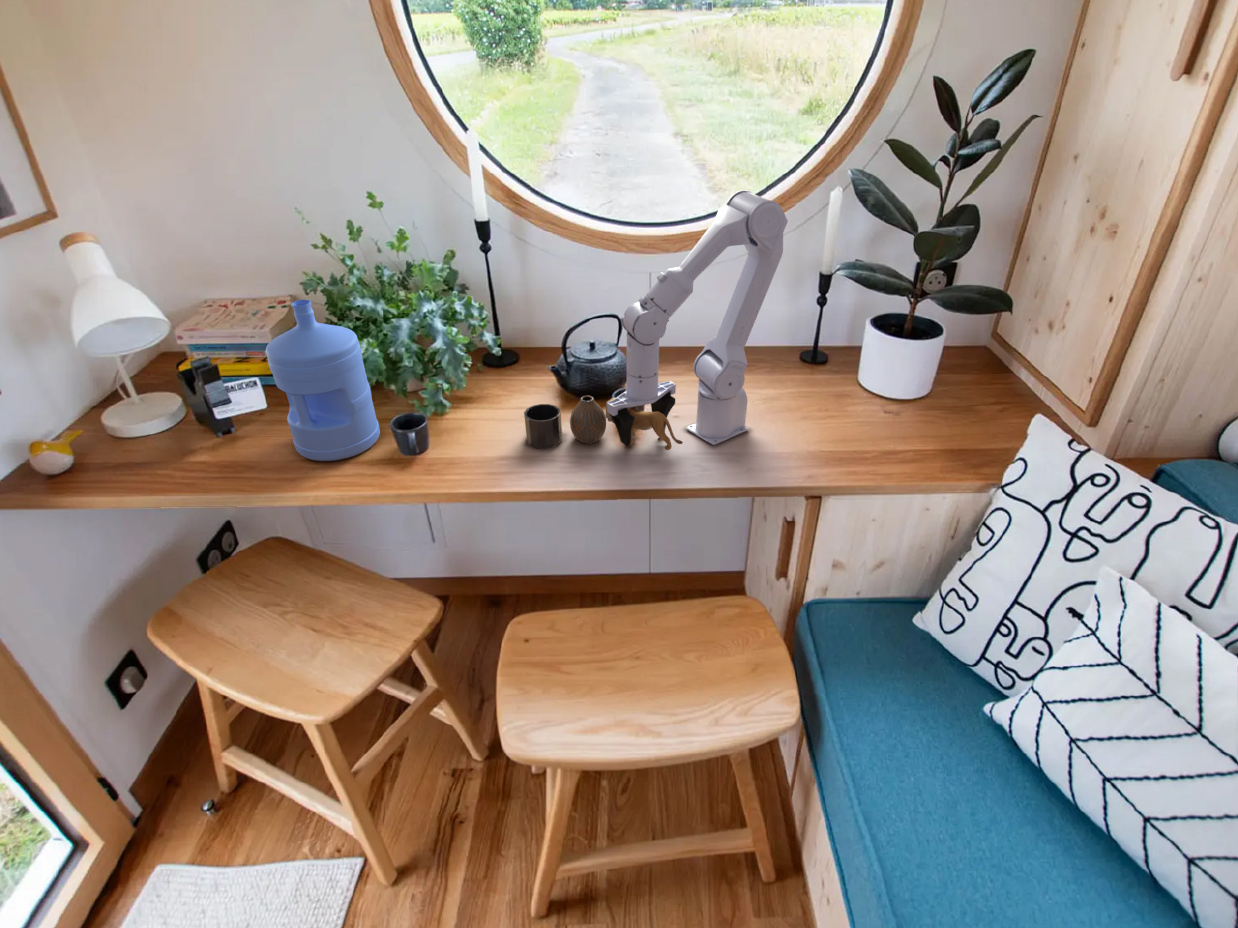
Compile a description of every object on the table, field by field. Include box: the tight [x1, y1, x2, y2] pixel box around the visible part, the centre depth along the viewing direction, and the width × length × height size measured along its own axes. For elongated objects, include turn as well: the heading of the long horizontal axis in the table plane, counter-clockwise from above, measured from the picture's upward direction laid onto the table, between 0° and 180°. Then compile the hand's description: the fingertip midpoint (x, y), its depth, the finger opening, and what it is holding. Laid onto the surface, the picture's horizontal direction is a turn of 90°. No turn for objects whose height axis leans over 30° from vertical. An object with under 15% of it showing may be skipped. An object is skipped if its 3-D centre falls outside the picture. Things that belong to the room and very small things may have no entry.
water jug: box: [265, 299, 381, 462], centre depth 125 cm, size 16×16×28 cm
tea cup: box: [523, 403, 563, 450], centre depth 131 cm, size 7×7×6 cm
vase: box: [569, 395, 607, 445], centre depth 130 cm, size 7×7×9 cm
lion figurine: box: [605, 397, 684, 451], centre depth 128 cm, size 15×5×9 cm, turn 73°
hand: (641, 436), depth 129 cm, fingers open, 7 cm apart
